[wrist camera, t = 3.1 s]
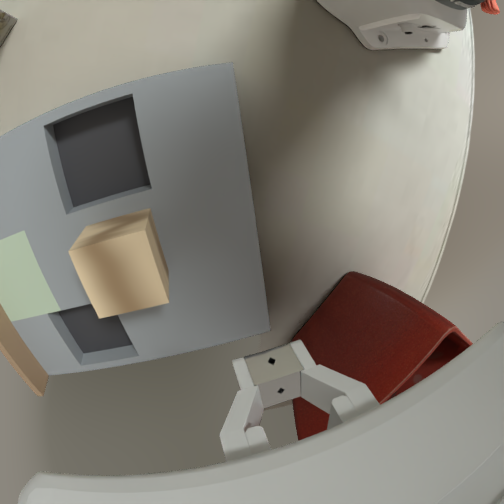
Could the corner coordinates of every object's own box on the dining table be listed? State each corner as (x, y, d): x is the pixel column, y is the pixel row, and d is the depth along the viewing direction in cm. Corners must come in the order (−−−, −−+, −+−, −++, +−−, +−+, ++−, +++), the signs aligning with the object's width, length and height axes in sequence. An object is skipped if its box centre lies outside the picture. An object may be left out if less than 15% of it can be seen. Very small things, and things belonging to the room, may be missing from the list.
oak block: (150, 207, 22) (145, 229, 18) (168, 270, 25) (169, 302, 21) (85, 226, 21) (68, 251, 17) (108, 285, 24) (99, 318, 20)
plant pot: (341, 376, 45) (388, 450, 30) (254, 354, 36) (299, 466, 21) (415, 290, 40) (485, 355, 25) (347, 235, 32) (453, 323, 17)
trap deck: (227, 67, 21) (242, 52, 16) (264, 317, 34) (280, 352, 28) (-42, 168, 16) (-75, 183, 11) (47, 362, 29) (37, 396, 23)
